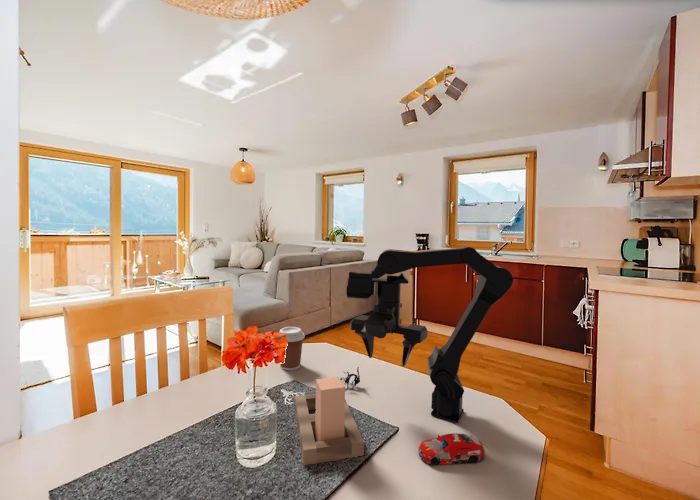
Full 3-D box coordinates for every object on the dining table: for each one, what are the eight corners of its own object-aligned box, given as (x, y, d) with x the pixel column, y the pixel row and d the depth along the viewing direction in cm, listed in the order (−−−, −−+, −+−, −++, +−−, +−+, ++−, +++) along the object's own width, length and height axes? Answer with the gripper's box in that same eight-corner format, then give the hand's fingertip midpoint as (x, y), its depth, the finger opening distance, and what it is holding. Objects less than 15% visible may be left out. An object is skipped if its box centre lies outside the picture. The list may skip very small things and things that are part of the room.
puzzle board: (294, 407, 85) (294, 395, 84) (341, 402, 87) (341, 391, 87) (303, 465, 64) (303, 450, 64) (363, 456, 67) (364, 441, 67)
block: (337, 433, 74) (338, 376, 73) (343, 448, 69) (345, 387, 68) (315, 437, 73) (315, 379, 72) (320, 452, 68) (321, 390, 67)
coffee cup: (280, 374, 103) (281, 335, 103) (272, 363, 111) (272, 327, 110) (308, 368, 108) (309, 331, 107) (298, 358, 116) (299, 324, 115)
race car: (422, 468, 64) (423, 448, 64) (414, 449, 70) (415, 431, 70) (488, 465, 66) (489, 445, 65) (475, 447, 71) (476, 428, 71)
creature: (335, 397, 92) (363, 391, 92) (331, 379, 92) (359, 373, 92) (335, 384, 100) (361, 378, 100) (331, 367, 100) (358, 361, 100)
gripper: (339, 301, 81) (338, 363, 82) (412, 312, 72) (410, 383, 73) (361, 293, 91) (360, 350, 92) (429, 303, 81) (426, 366, 82)
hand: (386, 361), depth 84 cm, fingers open, 9 cm apart
